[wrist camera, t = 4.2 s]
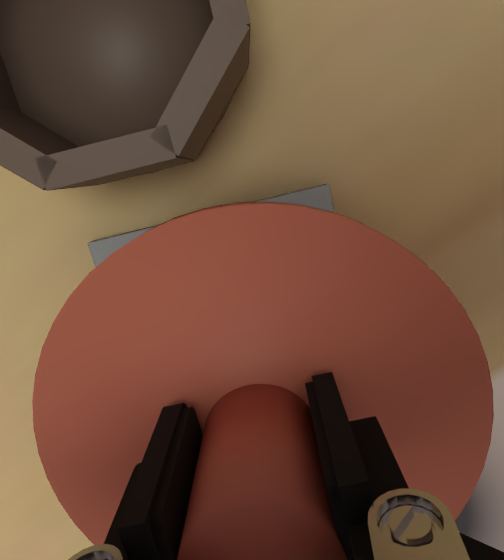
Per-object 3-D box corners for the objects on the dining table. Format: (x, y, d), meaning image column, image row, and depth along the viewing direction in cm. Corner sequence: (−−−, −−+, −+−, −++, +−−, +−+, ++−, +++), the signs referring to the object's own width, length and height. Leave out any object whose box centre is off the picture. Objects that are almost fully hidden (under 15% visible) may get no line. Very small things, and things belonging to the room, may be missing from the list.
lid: (451, 148, 10) (608, 138, 6) (498, 548, 13) (625, 755, 9) (-21, 262, 11) (-219, 334, 7) (123, 612, 14) (57, 831, 10)
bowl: (203, -134, 17) (181, -297, 11) (264, 144, 19) (273, 133, 13) (-55, -62, 17) (-210, -182, 11) (39, 200, 20) (-48, 214, 14)
